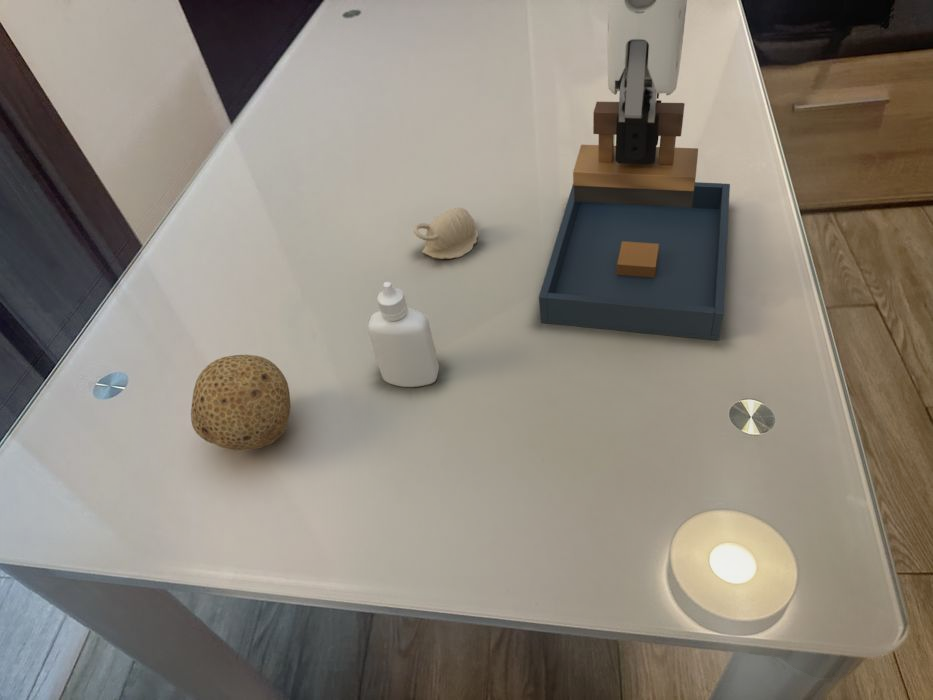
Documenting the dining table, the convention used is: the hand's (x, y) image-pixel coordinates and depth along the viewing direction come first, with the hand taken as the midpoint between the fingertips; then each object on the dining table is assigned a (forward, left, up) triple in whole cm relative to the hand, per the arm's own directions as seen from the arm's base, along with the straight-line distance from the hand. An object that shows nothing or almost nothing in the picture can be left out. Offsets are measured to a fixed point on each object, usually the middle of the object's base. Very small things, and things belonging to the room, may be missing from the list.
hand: (636, 152), depth 60 cm
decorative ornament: (+22, -8, -19) cm, 30 cm away
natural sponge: (+32, +22, -19) cm, 43 cm away
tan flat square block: (0, -7, -18) cm, 19 cm away
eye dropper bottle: (+20, +12, -19) cm, 30 cm away
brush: (0, 0, -4) cm, 4 cm away
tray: (0, -8, -19) cm, 20 cm away
